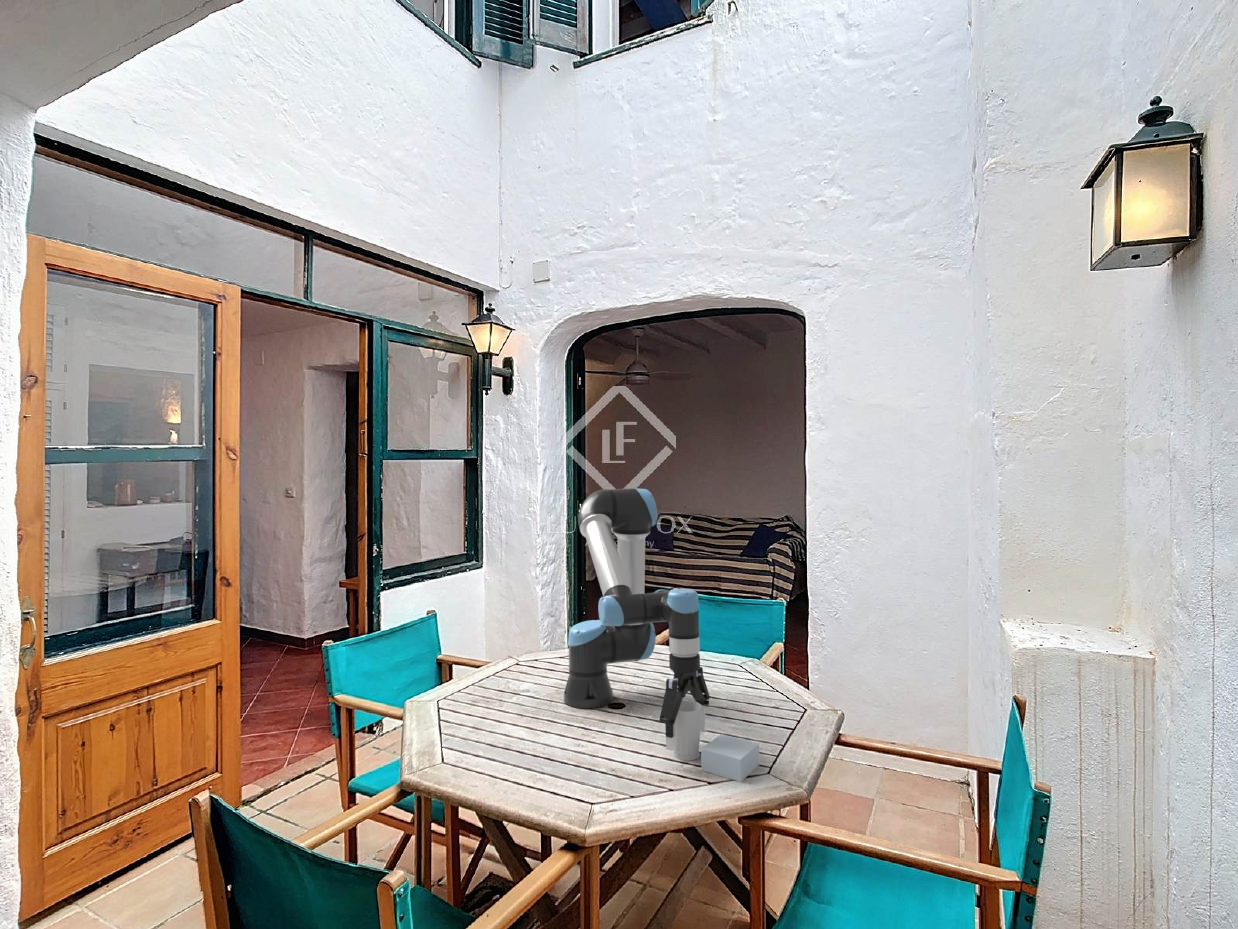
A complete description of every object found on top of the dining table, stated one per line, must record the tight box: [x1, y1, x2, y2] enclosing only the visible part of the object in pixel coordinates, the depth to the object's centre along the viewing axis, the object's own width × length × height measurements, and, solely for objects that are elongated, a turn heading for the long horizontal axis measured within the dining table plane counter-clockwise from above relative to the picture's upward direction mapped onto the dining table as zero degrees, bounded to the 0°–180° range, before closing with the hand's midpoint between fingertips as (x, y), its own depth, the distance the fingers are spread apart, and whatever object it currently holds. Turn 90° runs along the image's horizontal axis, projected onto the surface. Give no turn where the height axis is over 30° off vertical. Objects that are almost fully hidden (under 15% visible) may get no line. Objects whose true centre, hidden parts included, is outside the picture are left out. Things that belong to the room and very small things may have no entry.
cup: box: [672, 699, 702, 762], centre depth 157 cm, size 8×8×12 cm
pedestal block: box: [700, 733, 760, 783], centre depth 150 cm, size 10×10×5 cm
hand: (686, 740), depth 157 cm, fingers open, 13 cm apart
